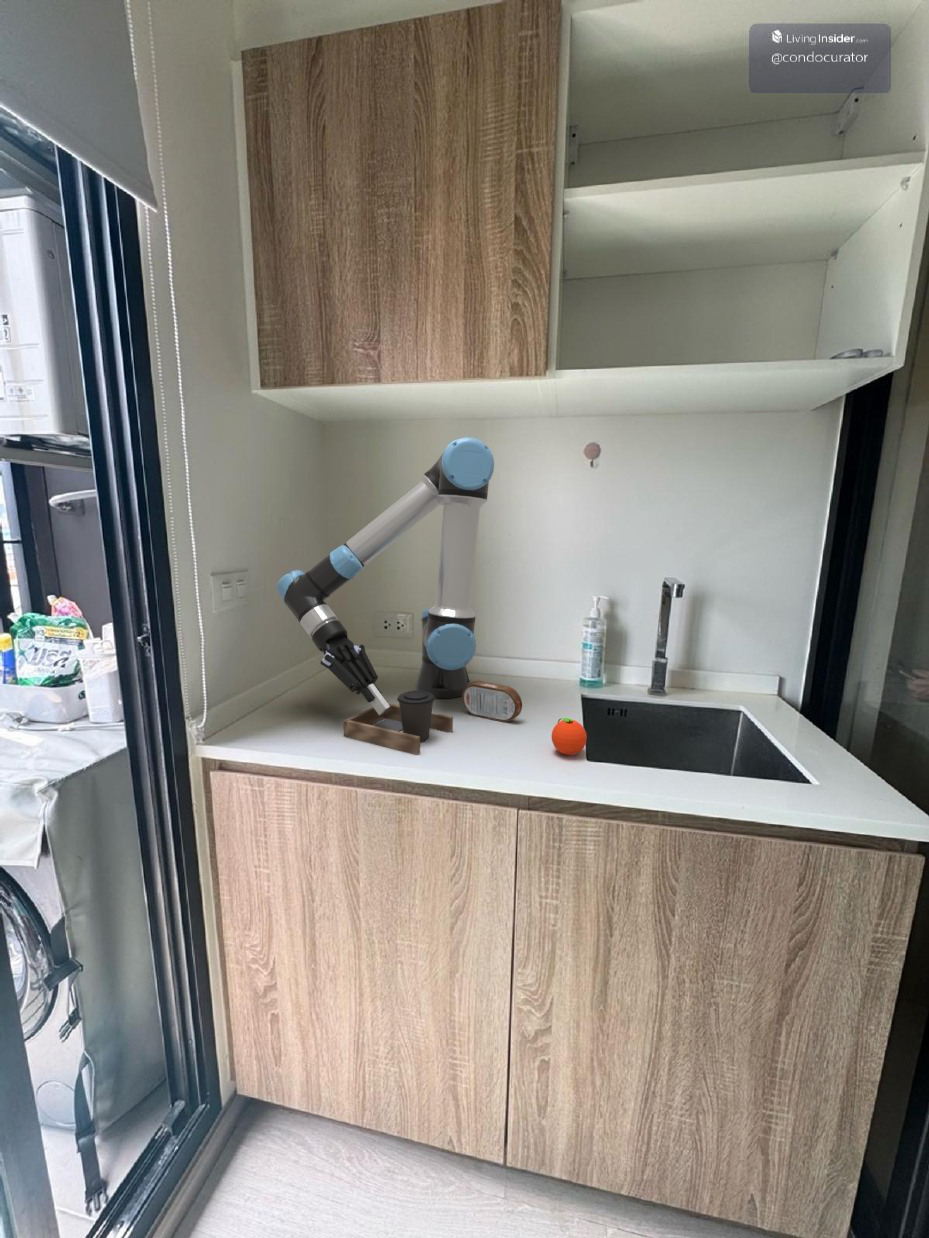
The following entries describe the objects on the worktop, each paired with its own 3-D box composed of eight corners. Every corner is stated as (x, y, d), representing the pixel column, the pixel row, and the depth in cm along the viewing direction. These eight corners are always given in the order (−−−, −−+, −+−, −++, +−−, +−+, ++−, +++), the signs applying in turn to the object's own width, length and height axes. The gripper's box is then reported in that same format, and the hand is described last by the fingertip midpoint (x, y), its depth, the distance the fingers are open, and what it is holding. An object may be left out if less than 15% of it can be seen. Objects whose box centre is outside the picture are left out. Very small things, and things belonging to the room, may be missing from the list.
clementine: (541, 747, 108) (542, 714, 107) (570, 742, 111) (571, 710, 110) (562, 763, 101) (564, 728, 100) (593, 757, 103) (594, 723, 102)
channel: (343, 736, 113) (343, 720, 112) (383, 716, 125) (383, 702, 124) (417, 754, 104) (417, 738, 103) (452, 731, 116) (452, 716, 115)
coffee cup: (439, 732, 116) (439, 688, 114) (430, 747, 108) (430, 700, 106) (403, 729, 117) (402, 686, 115) (392, 744, 109) (391, 698, 107)
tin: (522, 721, 122) (523, 687, 121) (516, 726, 120) (517, 690, 118) (466, 710, 130) (466, 677, 128) (460, 714, 127) (460, 680, 126)
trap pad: (355, 735, 113) (355, 734, 113) (386, 719, 123) (386, 718, 123) (381, 742, 110) (381, 740, 110) (411, 725, 119) (411, 724, 119)
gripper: (336, 634, 128) (392, 711, 123) (295, 644, 117) (356, 729, 112) (352, 614, 124) (411, 693, 119) (312, 623, 113) (375, 710, 108)
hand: (384, 710), depth 116 cm, fingers closed
